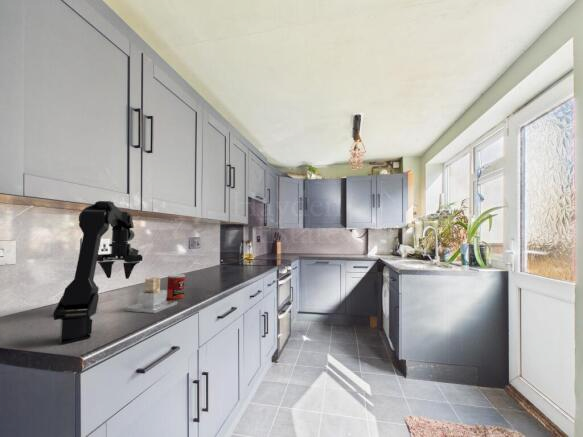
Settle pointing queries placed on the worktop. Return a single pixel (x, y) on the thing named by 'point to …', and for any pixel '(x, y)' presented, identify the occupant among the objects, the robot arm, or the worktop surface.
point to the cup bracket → (151, 302)
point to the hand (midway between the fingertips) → (118, 278)
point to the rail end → (152, 285)
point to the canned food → (176, 286)
